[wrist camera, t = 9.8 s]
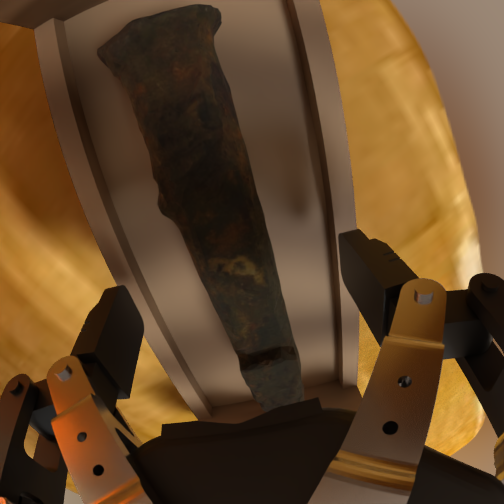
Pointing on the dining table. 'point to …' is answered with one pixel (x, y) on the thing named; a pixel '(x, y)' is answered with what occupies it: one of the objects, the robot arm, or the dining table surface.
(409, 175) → the dining table surface
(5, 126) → the dining table surface
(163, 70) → the hand tool
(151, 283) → the cradle
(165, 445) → the robot arm
